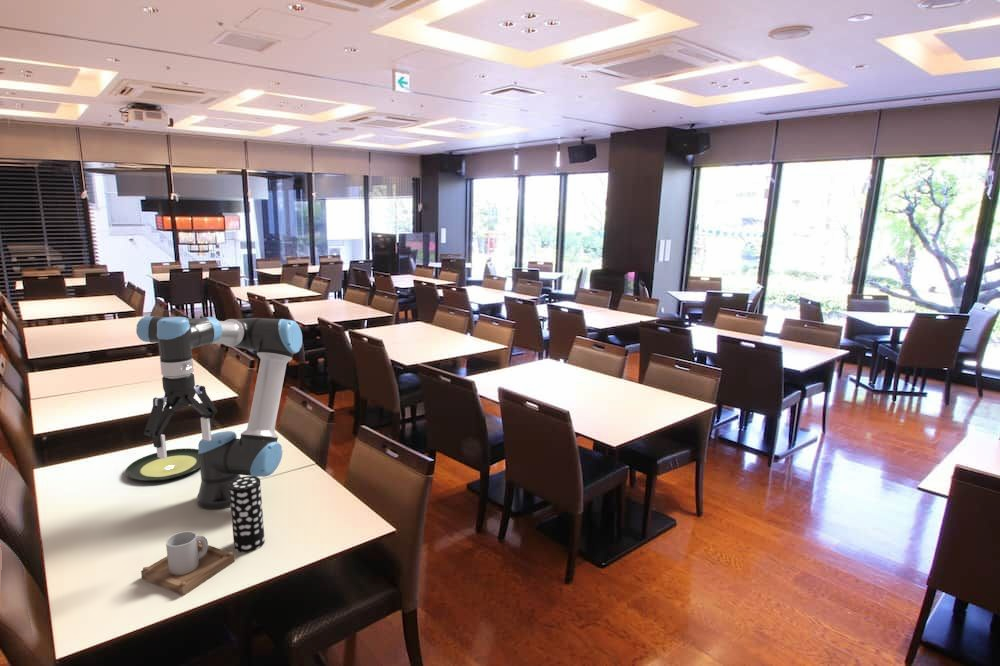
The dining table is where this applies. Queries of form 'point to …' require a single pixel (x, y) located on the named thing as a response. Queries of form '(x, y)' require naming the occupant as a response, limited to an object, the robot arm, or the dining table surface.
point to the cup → (184, 552)
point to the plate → (164, 465)
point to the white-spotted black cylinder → (247, 513)
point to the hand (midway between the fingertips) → (185, 448)
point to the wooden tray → (185, 583)
